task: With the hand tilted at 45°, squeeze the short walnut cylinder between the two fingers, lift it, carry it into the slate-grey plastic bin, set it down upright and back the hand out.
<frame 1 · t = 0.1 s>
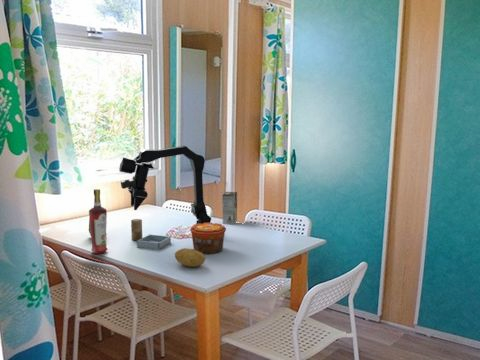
hand: (133, 207, 231), 15 cm above the table, tool pointing down, fingers open, 9 cm apart
coffee box: (229, 222, 267), on the table
potato: (189, 266, 197), on the table
liquor: (99, 252, 213), on the table
squeeze bottle: (97, 237, 237), on the table
bin: (154, 245, 225), on the table
walnut cylinder: (137, 239, 233), on the table
food container: (208, 250, 218), on the table
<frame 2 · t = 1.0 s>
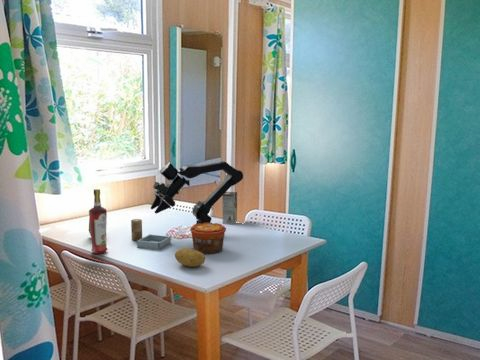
hand: (153, 210, 234), 13 cm above the table, tool tilted 45°, fingers open, 9 cm apart
nothing on the table moved.
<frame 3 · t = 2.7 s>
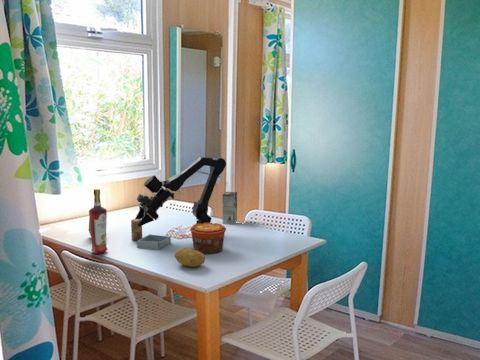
hand: (136, 223, 232), 8 cm above the table, tool tilted 45°, fingers open, 9 cm apart
nothing on the table moved.
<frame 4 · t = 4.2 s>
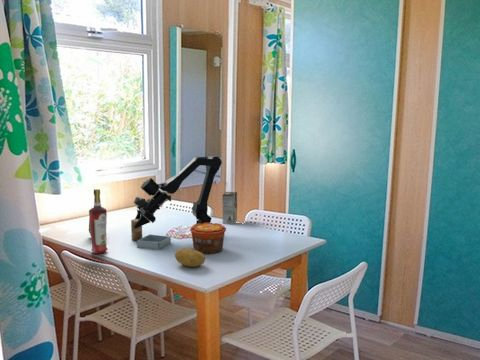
hand: (133, 226, 232), 7 cm above the table, tool tilted 45°, fingers closed on walnut cylinder, 5 cm apart
walnut cylinder: (137, 239, 233), on the table, touching gripper
everything else where it was.
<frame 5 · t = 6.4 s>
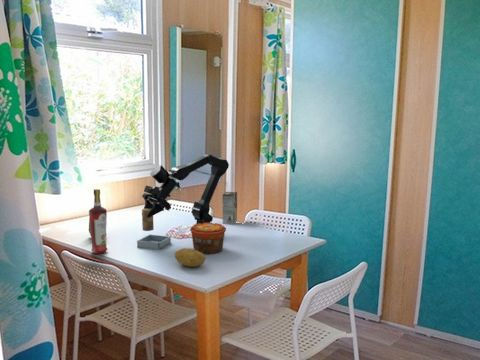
hand: (145, 216, 224), 13 cm above the table, tool tilted 45°, fingers closed on walnut cylinder, 5 cm apart
walnut cylinder: (148, 229, 226), point 7 cm above the table, touching gripper
everything else where it was.
when the fingers open (9 cm above the table, at t = 8.7 s): walnut cylinder drops 1 cm, resting on bin.
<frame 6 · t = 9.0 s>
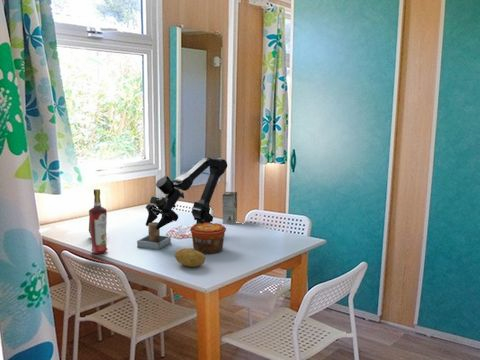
hand: (151, 227, 222), 9 cm above the table, tool tilted 45°, fingers open, 8 cm apart
walnut cylinder: (154, 243, 225), point 1 cm above the table, touching bin
everything else where it was.
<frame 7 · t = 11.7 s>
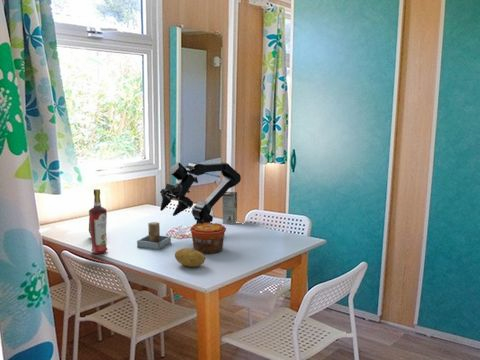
hand: (167, 213, 230), 13 cm above the table, tool tilted 40°, fingers open, 9 cm apart
nothing on the table moved.
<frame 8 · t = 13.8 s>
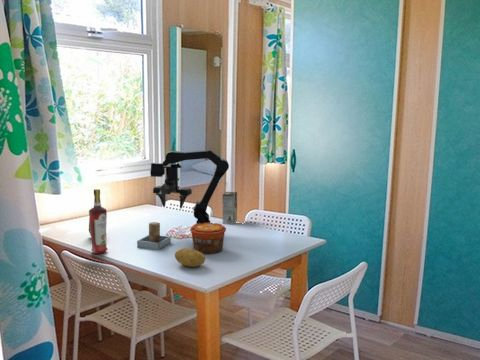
hand: (172, 207, 242), 13 cm above the table, tool pointing down, fingers open, 9 cm apart
nothing on the table moved.
at the end: walnut cylinder 0.1 cm off-centre on the bin, point 0.7 cm above the bin's base; walnut cylinder tilted 1°; the gripper is holding nothing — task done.
